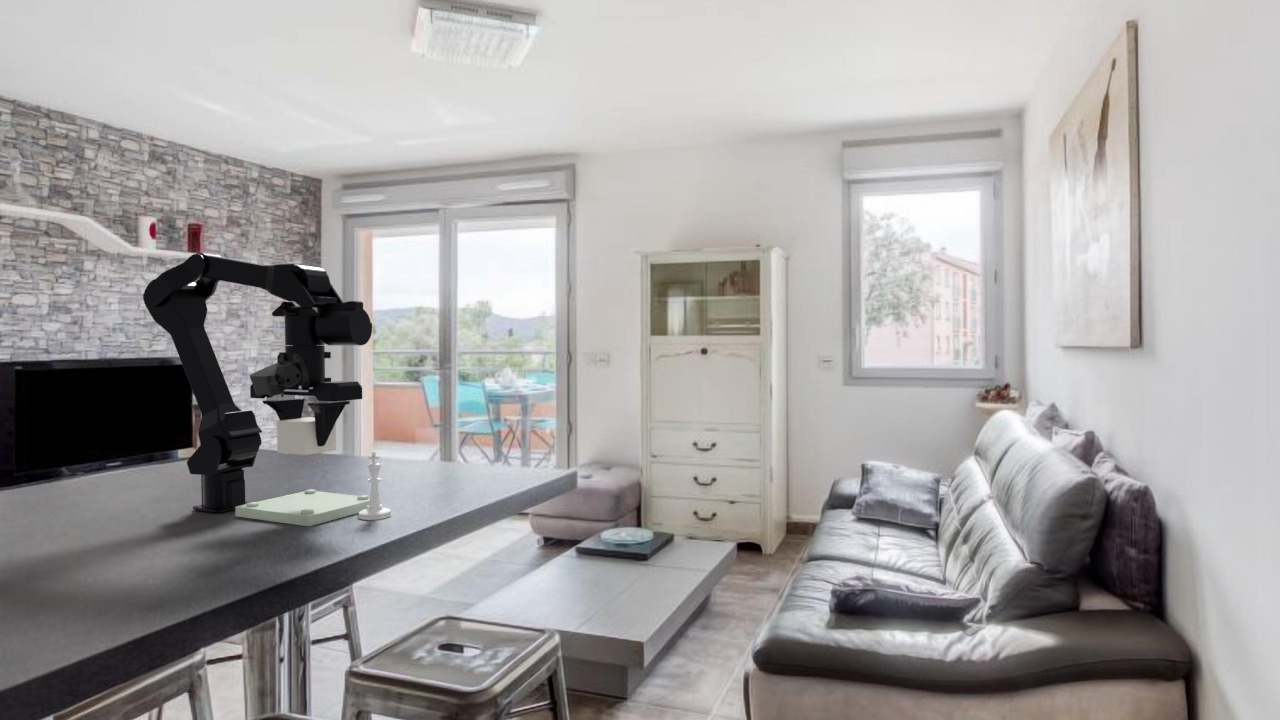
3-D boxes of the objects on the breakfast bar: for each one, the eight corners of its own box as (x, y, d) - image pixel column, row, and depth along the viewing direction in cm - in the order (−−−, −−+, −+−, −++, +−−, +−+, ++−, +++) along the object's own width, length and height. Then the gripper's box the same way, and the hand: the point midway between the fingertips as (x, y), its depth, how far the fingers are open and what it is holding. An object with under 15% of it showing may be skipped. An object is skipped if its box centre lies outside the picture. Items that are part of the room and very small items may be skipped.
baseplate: (235, 516, 121) (235, 504, 120) (309, 499, 133) (309, 488, 133) (308, 526, 114) (308, 513, 113) (379, 507, 126) (379, 495, 126)
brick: (277, 452, 120) (276, 420, 120) (309, 447, 126) (308, 417, 126) (304, 455, 118) (304, 422, 118) (335, 449, 123) (335, 418, 123)
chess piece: (381, 520, 117) (380, 454, 117) (351, 519, 118) (350, 454, 118) (397, 513, 122) (396, 450, 122) (369, 512, 123) (368, 449, 123)
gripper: (217, 346, 118) (219, 448, 118) (305, 346, 110) (306, 455, 110) (280, 345, 128) (281, 439, 129) (364, 345, 120) (365, 445, 120)
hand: (306, 444), depth 122 cm, fingers closed on brick, 6 cm apart
